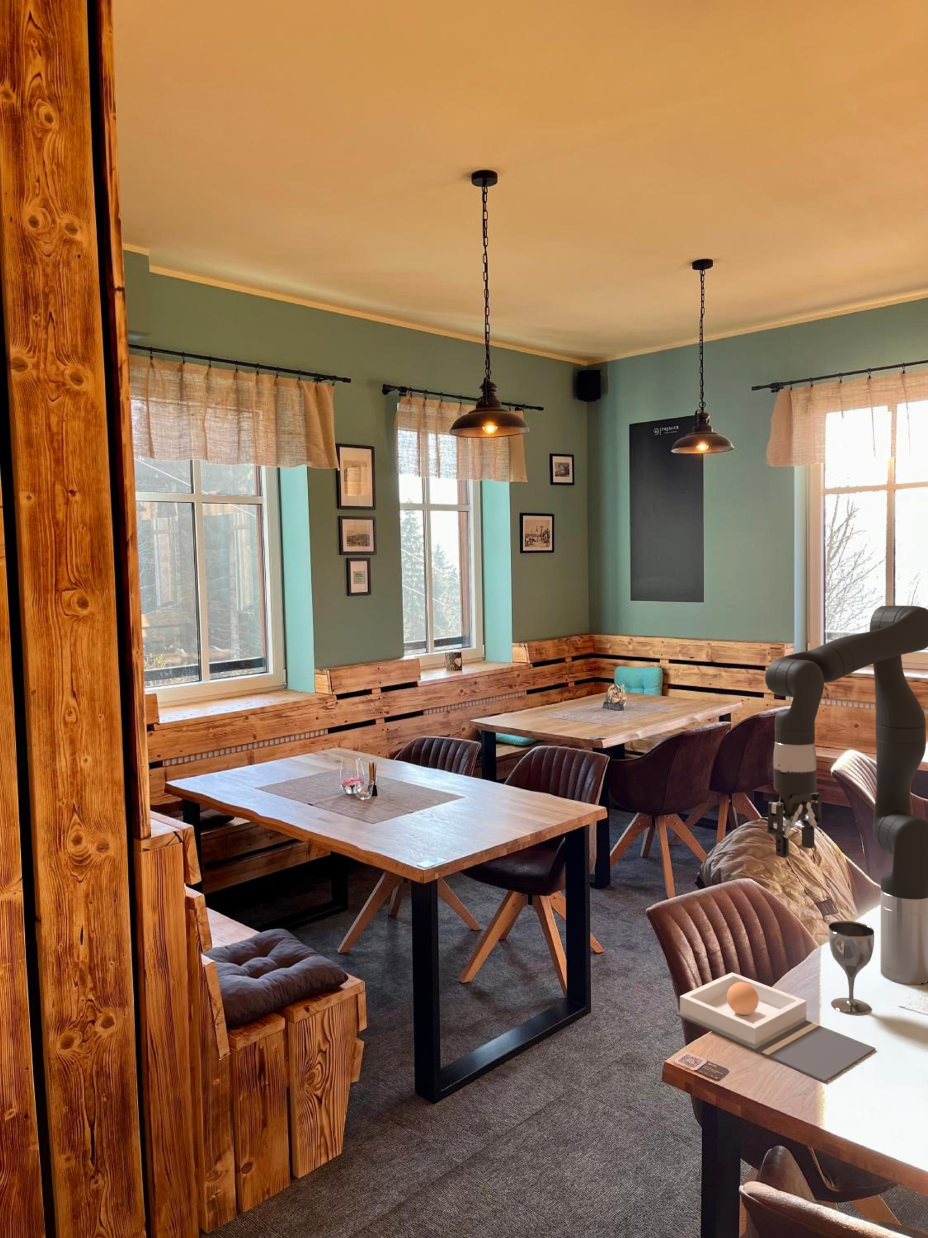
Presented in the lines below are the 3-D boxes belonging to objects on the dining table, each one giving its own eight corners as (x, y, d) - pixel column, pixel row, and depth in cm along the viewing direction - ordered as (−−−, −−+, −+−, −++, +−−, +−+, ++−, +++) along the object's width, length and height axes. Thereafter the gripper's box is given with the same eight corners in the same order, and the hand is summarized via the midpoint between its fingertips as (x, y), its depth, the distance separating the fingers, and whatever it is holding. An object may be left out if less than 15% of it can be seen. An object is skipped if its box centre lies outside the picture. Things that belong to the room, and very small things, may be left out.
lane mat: (727, 990, 180) (727, 988, 180) (875, 1050, 156) (875, 1047, 156) (675, 1015, 170) (675, 1013, 170) (824, 1083, 146) (824, 1080, 146)
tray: (732, 990, 179) (732, 972, 179) (806, 1020, 166) (806, 1001, 166) (680, 1015, 169) (679, 996, 169) (754, 1049, 156) (754, 1028, 156)
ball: (739, 1003, 172) (738, 974, 171) (765, 1014, 167) (764, 984, 167) (720, 1012, 168) (720, 983, 168) (746, 1024, 164) (746, 993, 163)
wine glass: (819, 1001, 174) (819, 924, 174) (851, 994, 177) (851, 918, 177) (850, 1020, 167) (850, 939, 166) (883, 1012, 170) (883, 932, 169)
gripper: (798, 758, 177) (798, 840, 177) (754, 768, 168) (755, 855, 169) (834, 763, 171) (834, 849, 171) (791, 774, 162) (791, 864, 163)
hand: (795, 852), depth 170 cm, fingers open, 8 cm apart
